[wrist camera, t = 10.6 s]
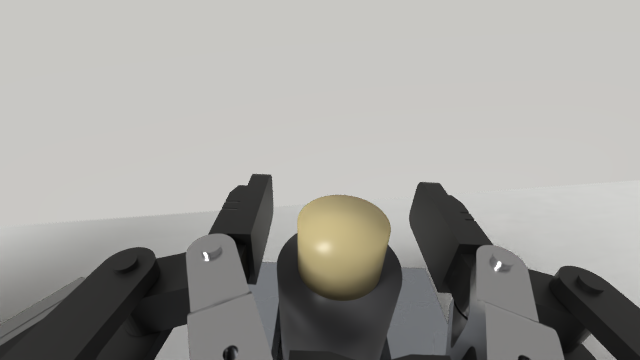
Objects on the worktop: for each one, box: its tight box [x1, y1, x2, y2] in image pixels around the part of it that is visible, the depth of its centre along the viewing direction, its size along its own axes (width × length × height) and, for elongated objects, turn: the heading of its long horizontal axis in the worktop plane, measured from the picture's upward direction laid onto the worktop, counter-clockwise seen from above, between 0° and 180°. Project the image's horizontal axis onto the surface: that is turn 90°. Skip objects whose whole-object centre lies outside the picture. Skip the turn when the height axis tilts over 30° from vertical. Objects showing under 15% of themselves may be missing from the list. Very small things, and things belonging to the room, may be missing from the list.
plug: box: [277, 195, 403, 360], centre depth 12 cm, size 4×4×12 cm
